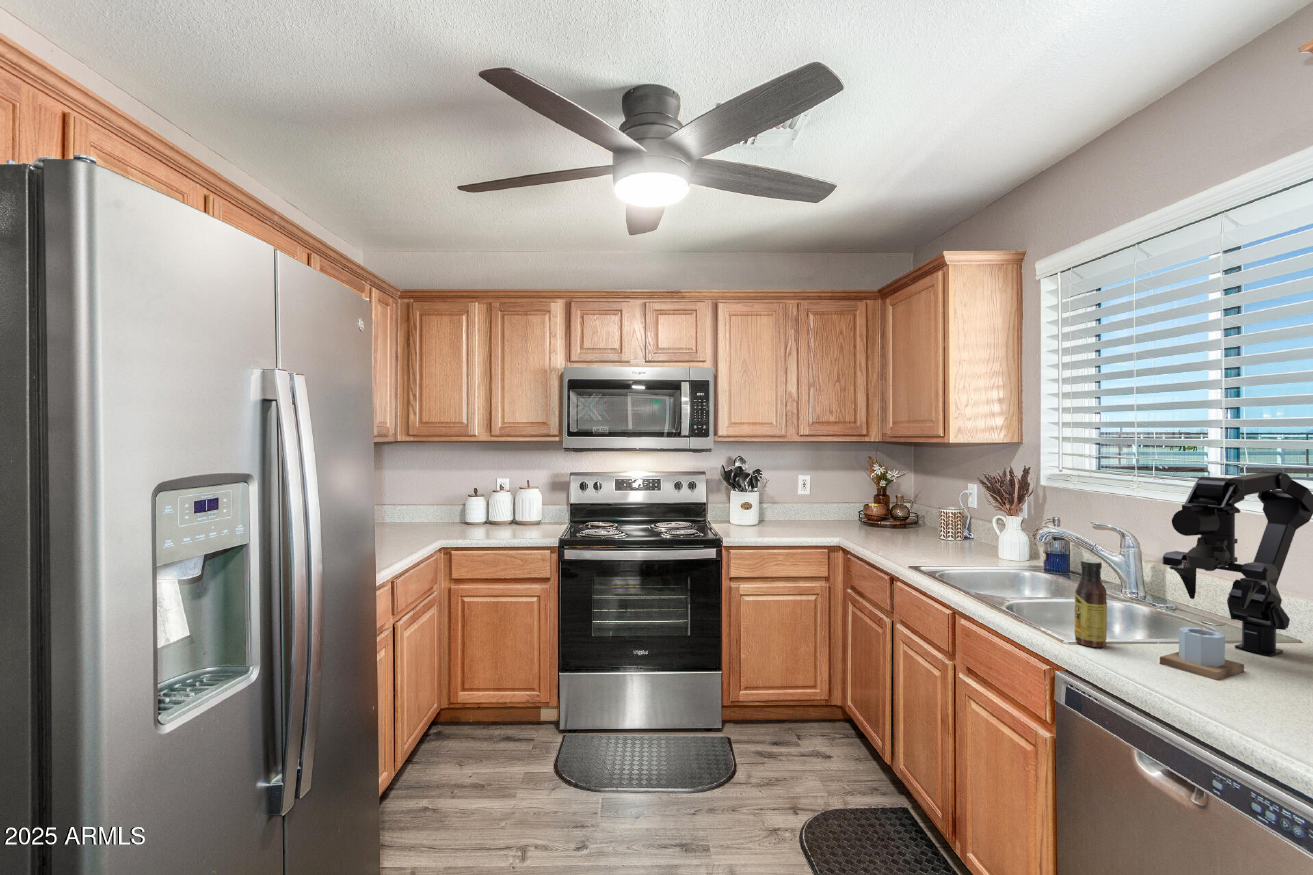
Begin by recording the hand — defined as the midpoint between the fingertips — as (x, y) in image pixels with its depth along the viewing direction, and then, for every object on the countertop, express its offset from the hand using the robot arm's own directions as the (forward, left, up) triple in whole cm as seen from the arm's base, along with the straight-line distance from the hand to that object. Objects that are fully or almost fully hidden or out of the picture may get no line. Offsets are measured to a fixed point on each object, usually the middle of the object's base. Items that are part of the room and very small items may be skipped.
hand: (1217, 603), depth 141 cm
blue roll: (+11, +2, -10) cm, 15 cm away
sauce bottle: (+17, -17, -12) cm, 27 cm away
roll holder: (+11, +2, -12) cm, 16 cm away
